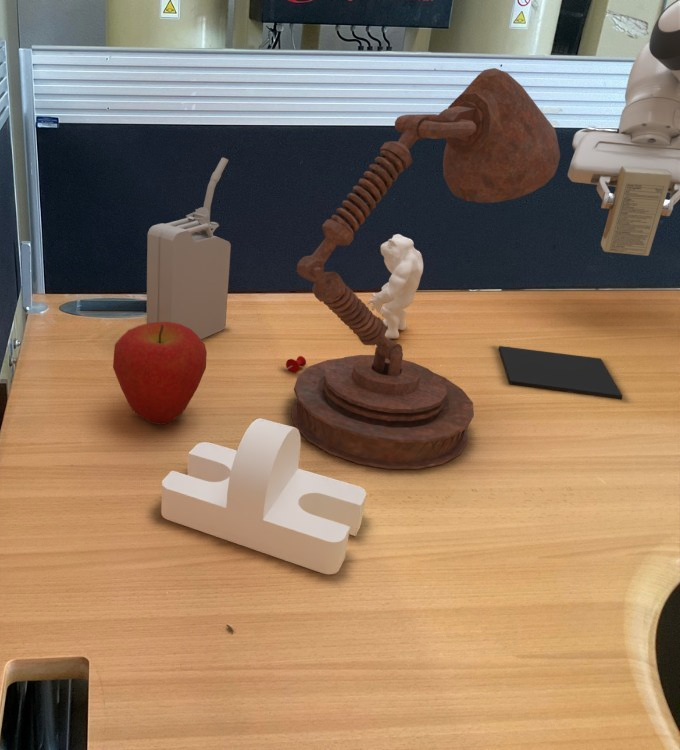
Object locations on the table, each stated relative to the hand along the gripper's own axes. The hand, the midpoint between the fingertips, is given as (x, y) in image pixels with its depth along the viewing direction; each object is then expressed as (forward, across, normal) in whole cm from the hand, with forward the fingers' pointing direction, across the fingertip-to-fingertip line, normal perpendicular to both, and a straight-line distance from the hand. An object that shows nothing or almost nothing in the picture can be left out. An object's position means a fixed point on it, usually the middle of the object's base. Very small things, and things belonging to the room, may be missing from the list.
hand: (636, 210), depth 112 cm
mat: (+28, -6, -1) cm, 29 cm away
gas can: (+37, -57, -9) cm, 68 cm away
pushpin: (+41, -40, -13) cm, 58 cm away
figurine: (+26, -30, +1) cm, 40 cm away
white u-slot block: (+64, -33, -36) cm, 81 cm away
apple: (+55, -50, -27) cm, 79 cm away
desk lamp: (+46, -25, -18) cm, 55 cm away
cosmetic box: (+4, 0, +5) cm, 7 cm away
